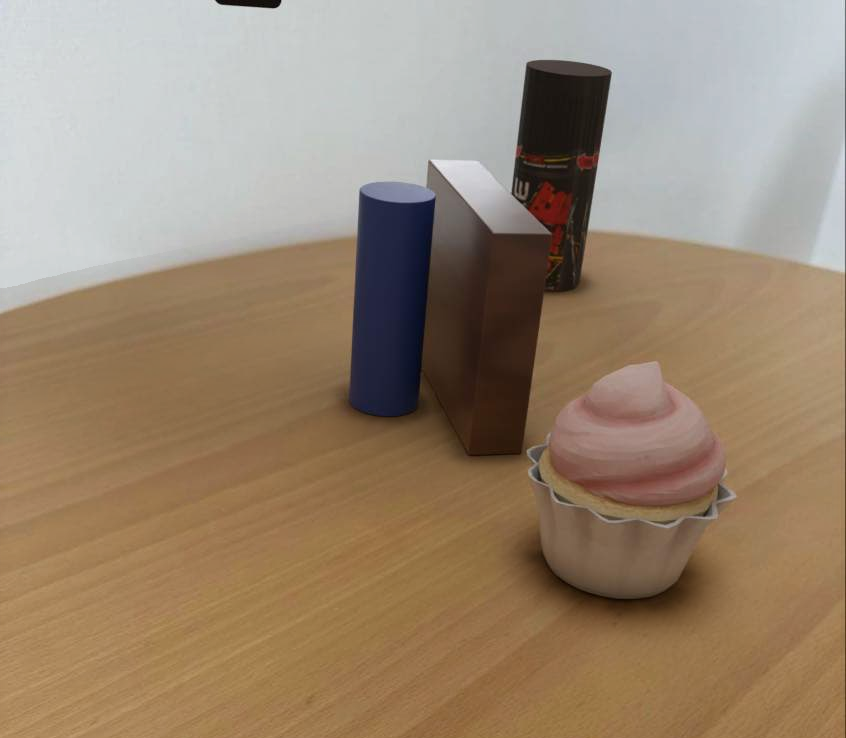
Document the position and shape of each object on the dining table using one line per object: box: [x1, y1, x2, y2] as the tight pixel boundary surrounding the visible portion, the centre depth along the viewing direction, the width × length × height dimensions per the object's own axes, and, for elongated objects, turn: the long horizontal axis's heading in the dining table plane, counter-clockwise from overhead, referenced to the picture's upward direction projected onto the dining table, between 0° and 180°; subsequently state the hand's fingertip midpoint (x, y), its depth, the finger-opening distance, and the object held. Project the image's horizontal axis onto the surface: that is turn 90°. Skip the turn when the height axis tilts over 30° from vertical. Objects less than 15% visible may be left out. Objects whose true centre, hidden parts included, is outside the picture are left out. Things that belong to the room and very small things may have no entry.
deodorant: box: [510, 59, 613, 293], centre depth 83 cm, size 6×6×15 cm
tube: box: [348, 181, 436, 417], centre depth 63 cm, size 11×4×12 cm
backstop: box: [421, 159, 552, 456], centre depth 64 cm, size 3×14×12 cm, turn 13°
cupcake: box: [526, 360, 738, 600], centre depth 51 cm, size 9×9×10 cm
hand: (246, 3), depth 55 cm, fingers closed
